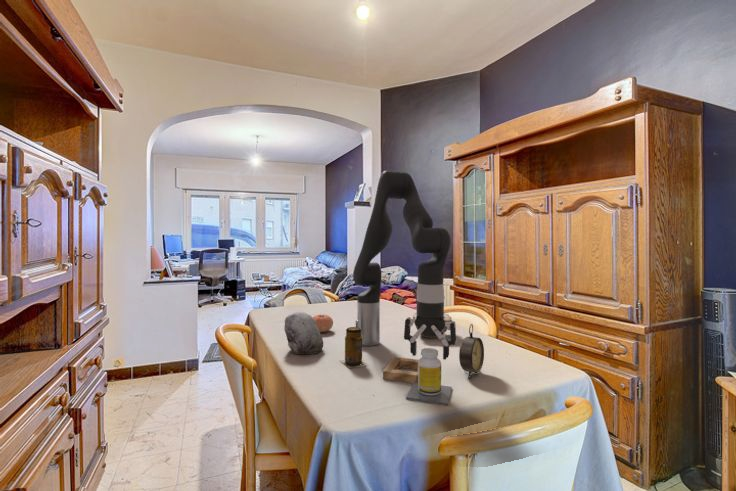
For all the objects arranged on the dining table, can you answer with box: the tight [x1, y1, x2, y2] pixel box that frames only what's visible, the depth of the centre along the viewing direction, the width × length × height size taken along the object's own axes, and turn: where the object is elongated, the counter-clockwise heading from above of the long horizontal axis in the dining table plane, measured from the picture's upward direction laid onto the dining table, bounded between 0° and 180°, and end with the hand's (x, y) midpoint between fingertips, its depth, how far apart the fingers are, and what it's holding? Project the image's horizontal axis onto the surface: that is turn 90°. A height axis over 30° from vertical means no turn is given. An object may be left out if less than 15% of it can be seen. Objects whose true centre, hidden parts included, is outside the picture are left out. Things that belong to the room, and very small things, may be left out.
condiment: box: [340, 326, 369, 369], centre depth 127 cm, size 7×8×12 cm
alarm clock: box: [458, 323, 485, 380], centre depth 117 cm, size 11×5×16 cm, turn 143°
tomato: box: [311, 313, 334, 334], centre depth 169 cm, size 11×11×8 cm
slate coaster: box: [405, 382, 453, 406], centre depth 103 cm, size 11×11×1 cm
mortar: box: [412, 312, 453, 339], centre depth 162 cm, size 17×17×9 cm
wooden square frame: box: [382, 356, 419, 384], centre depth 118 cm, size 13×14×2 cm
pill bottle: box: [417, 347, 442, 395], centre depth 103 cm, size 6×6×12 cm
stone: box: [283, 311, 324, 355], centre depth 140 cm, size 12×15×15 cm
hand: (429, 356), depth 103 cm, fingers open, 8 cm apart
